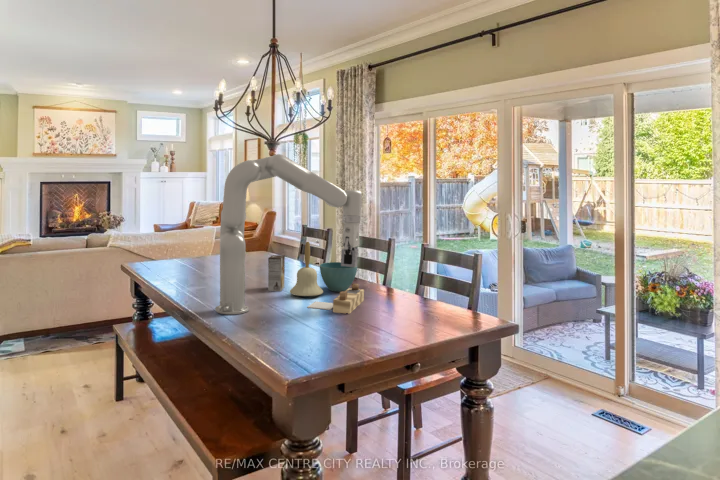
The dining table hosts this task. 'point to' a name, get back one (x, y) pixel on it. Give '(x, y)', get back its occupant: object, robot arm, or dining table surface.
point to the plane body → (348, 299)
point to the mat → (321, 305)
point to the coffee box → (276, 272)
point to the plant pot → (337, 276)
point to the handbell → (306, 278)
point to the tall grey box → (354, 258)
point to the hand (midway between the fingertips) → (349, 262)
